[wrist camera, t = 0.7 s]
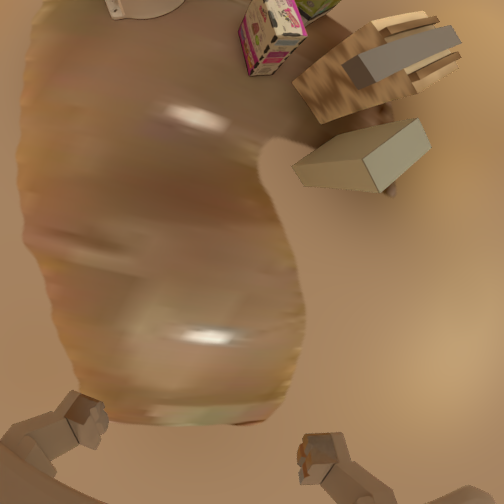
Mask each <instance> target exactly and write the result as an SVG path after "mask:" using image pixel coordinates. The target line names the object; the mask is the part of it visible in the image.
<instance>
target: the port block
mask: <svg viewBox="0 0 504 504" xmlns="http://www.w3.org/2000/svg"><path fill="white" fill-rule="evenodd" d="M430 148H431V145H430V142H429V140H428V138H427V136H426V133H425V131H424V129H423V127H422V125H421V123H420V121H419V118H413V119H408V120H403V121H397V122H392V123H387V124H382V125H378V126H373V127H368V128H364V129H360V130H356V131H351V132H347V133H343V134H339V135H337V136H335V137H334V138H332V139H331V140H329V141H328V142H326V143H325V144H323V145H322V146H320V147H319V148H317V149H316V150H314V151H313V152H311V153H310V154H309V155H307V156H306V157H304V158H303V159H301V160H300V161H299V162H297V163H296V164H294V165H293V166H292V168H293V169H294V171H295V172H296V174H297V176H298V177H299V179H300V180H301V182H302V183H303V185H304V186H305V187H321V188H334V189H345V190H356V191H365V192H375V193H381V192H382V191H383V190H384V189H385V188H387V187H388V186H389V185H390V184H391V183H392V182H393V181H395V180H396V179H397V178H398V177H399V176H400V175H401V174H402V173H404V172H405V171H406V170H407V169H408V168H409V167H410V166H412V165H413V164H414V163H415V162H416V161H417V160H418V159H419V158H420V157H421V156H423V155H424V154H425V153H426V152H427V151H428V150H429V149H430Z"/></svg>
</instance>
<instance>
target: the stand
mask: <svg viewBox="0 0 504 504" xmlns="http://www.w3.org/2000/svg"><path fill="white" fill-rule="evenodd" d="M438 22H440V21H439V20H438V18H437V17H436V16H434V17H428V16H427V15H426V13H425V12H424V11H419V12H412V13H406V14H401V15H396V16H391V17H386V18H382V19H378V20H374V21H370V22H369V23H368V24H366V25H365V26H363V27H362V28H360V29H359V30H357V31H356V32H355V33H353V34H352V35H350V36H349V37H348V38H346V39H345V40H344V41H342V42H341V43H340V44H338V45H337V46H336V47H334V48H333V49H332V50H330V51H329V52H328V53H327V54H325V55H324V56H323V57H321V58H320V59H319V60H318V61H316V62H315V63H314V64H313V65H312V66H310V67H309V68H308V69H307V70H306V71H304V72H303V73H302V74H301V75H300V76H298V77H297V78H296V79H295V80H294V81H293V82H291V83H292V84H293V85H294V87H295V88H296V90H297V91H298V92H299V94H300V95H301V96H302V98H303V99H304V101H305V102H306V104H307V105H308V106H309V108H310V109H311V111H312V112H313V114H314V115H315V117H316V118H317V120H318V121H319V123H320V124H324V123H326V122H329V121H332V120H335V119H337V118H340V117H343V116H346V115H349V114H352V113H355V112H358V111H361V110H364V109H367V108H370V107H373V106H376V105H380V104H383V103H386V102H390V101H393V100H396V99H400V98H404V97H407V96H411V95H414V94H418V93H420V92H421V91H423V90H424V89H426V88H428V87H429V86H431V85H432V84H434V83H436V82H437V81H439V80H441V79H442V78H444V77H446V76H447V75H449V74H451V73H452V72H454V71H455V70H457V69H459V67H458V65H457V63H456V60H458V59H460V58H461V56H460V54H459V52H455V53H451V52H450V51H449V49H446V50H444V51H442V52H439V53H437V54H435V55H432V56H430V57H428V58H425V59H423V60H421V61H419V62H417V63H415V64H412V65H410V66H408V67H406V68H404V69H402V70H400V71H398V72H396V73H394V74H392V75H390V76H388V77H386V78H384V79H382V80H380V81H378V82H376V83H374V84H372V85H369V86H367V87H365V88H362V89H360V90H358V89H357V88H356V86H355V85H354V83H353V82H352V80H351V79H350V77H349V76H348V74H347V73H346V71H345V70H344V69H343V67H342V66H341V65H342V64H343V63H345V62H346V61H348V60H350V59H351V58H353V57H354V56H356V55H358V54H360V53H363V52H365V51H368V50H370V49H373V48H376V47H378V46H381V45H384V44H387V43H389V42H392V41H395V40H398V39H401V38H404V37H408V36H411V35H414V34H418V33H421V32H425V31H428V30H432V29H436V28H435V26H434V25H433V24H436V23H438Z"/></svg>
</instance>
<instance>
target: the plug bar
mask: <svg viewBox="0 0 504 504" xmlns="http://www.w3.org/2000/svg"><path fill="white" fill-rule="evenodd" d="M461 43H462V42H461V41H460V39H459V38H458V36H457V35H456V32H455V31H454V29H453V28H452V26H451V25H449V26H444V27H440V28H436V29H432V30H428V31H425V32H421V33H418V34H414V35H411V36H408V37H404V38H401V39H398V40H395V41H392V42H389V43H387V44H384V45H381V46H378V47H376V48H373V49H370V50H368V51H365V52H363V53H360V54H358V55H356V56H354V57H353V58H351V59H350V60H348V61H346V62H345V63H343V64H342V65H341V66H342V67H343V69H344V70H345V71H346V73H347V74H348V76H349V77H350V79H351V80H352V82H353V83H354V85H355V86H356V88H357V89H358V90H360V89H362V88H365V87H367V86H369V85H372V84H374V83H376V82H378V81H380V80H382V79H384V78H386V77H388V76H390V75H392V74H394V73H396V72H398V71H400V70H402V69H404V68H406V67H408V66H410V65H412V64H415V63H417V62H419V61H421V60H423V59H425V58H428V57H430V56H432V55H435V54H437V53H439V52H442V51H444V50H446V49H449V48H451V47H454V46H456V45H459V44H461Z"/></svg>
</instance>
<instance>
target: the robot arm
mask: <svg viewBox="0 0 504 504" xmlns="http://www.w3.org/2000/svg"><path fill="white" fill-rule="evenodd" d="M183 2H184V0H105V3H106V5H107V8H108V10H109V13H110V15H111V18H112V19H113V20H118V19H124V18H134V19H149V18H155V17H158V16H162V15H164V14H167V13H169V12H171V11H173V10H174V9H176V8H177V7H179V6H180V5H181V4H182V3H183ZM115 11H116V12H115ZM104 408H105V406H104V403H103V402H102V401H99V400H96V399H94V398H91V397H89V396H86V395H84V394H81V393H79V392H76V391H74V390H72V391H70V392H69V393H68V394H67V396H66V397H65V398H64V400H63V401H62V402H61V404H60V405H59V406H58V407H57V409H56V410H55V411H54V412H52V411H50V412H48V413H45V414H42V415H40V416H37V417H34V418H31V419H28V420H25V421H22V422H19V423H16V424H13V425H12V426H11V427H10V428H9V430H8V431H7V432H6V433H5V435H4V436H3V437H2V438H1V440H0V504H107V503H104V502H102V501H99V500H97V499H95V498H92V497H90V496H88V495H85V494H83V493H81V492H79V491H77V490H75V489H73V488H71V487H69V486H67V485H65V484H63V483H61V482H60V481H58V480H56V479H54V476H55V475H56V473H57V470H56V468H55V467H54V466H53V464H52V463H51V462H50V461H52V460H54V459H55V458H57V457H59V456H61V455H62V454H64V453H66V452H68V451H70V450H71V449H73V448H75V447H76V446H78V445H79V444H81V445H83V446H86V447H88V448H91V449H93V450H96V449H97V447H98V445H99V443H100V441H101V437H100V435H102V434H104V433H105V432H106V430H107V428H108V423H109V419H108V415H107V413H106V412H105V411H104ZM302 441H303V443H302V444H300V445H299V447H298V451H297V464H298V465H299V466H300V467H301V469H300V471H299V481H300V485H313V484H314V485H315V484H320V485H321V487H322V488H323V489H324V490H325V491H326V492H327V493H328V494H329V495H330V496H331V497H332V498H333V500H334V501H335V502H336V503H337V504H397V501H396V499H395V496H394V493H393V490H392V489H391V488H390V487H388V486H387V485H385V484H384V483H383V482H381V481H380V480H378V479H377V478H376V477H374V476H373V475H372V474H370V473H369V472H368V471H367V470H365V469H364V468H363V467H361V466H360V465H359V464H358V463H356V462H355V461H353V462H351V458H350V455H349V452H348V448H347V445H346V442H345V438H344V435H343V433H342V432H336V433H311V434H305V435H304V436H303V438H302ZM426 504H496V502H495V500H494V498H493V497H492V496H491V495H490V494H489V493H487V492H485V491H483V490H481V489H478V488H476V487H473V486H470V485H467V486H463V487H461V488H459V489H457V490H455V491H453V492H451V493H449V494H446V495H444V496H442V497H440V498H438V499H435V500H433V501H430V502H428V503H426Z"/></svg>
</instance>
